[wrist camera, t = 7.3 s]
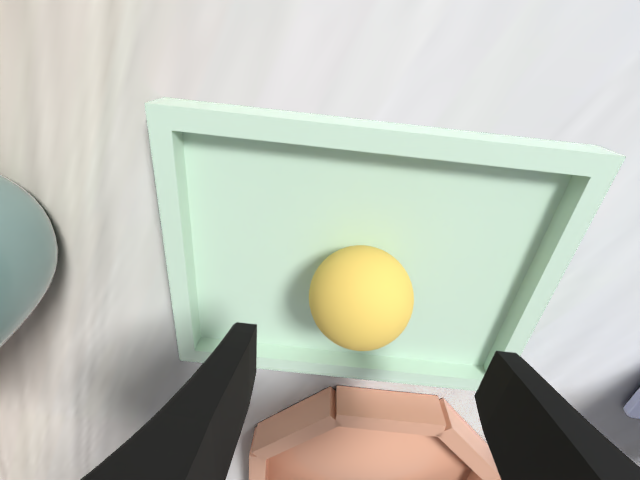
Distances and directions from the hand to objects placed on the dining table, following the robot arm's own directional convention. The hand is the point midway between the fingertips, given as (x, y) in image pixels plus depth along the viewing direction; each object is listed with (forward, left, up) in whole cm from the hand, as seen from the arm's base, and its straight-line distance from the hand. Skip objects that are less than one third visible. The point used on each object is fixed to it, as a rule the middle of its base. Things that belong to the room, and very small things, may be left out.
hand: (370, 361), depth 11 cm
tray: (0, 0, -6) cm, 6 cm away
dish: (-3, +16, -6) cm, 17 cm away
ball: (0, 0, -5) cm, 5 cm away
